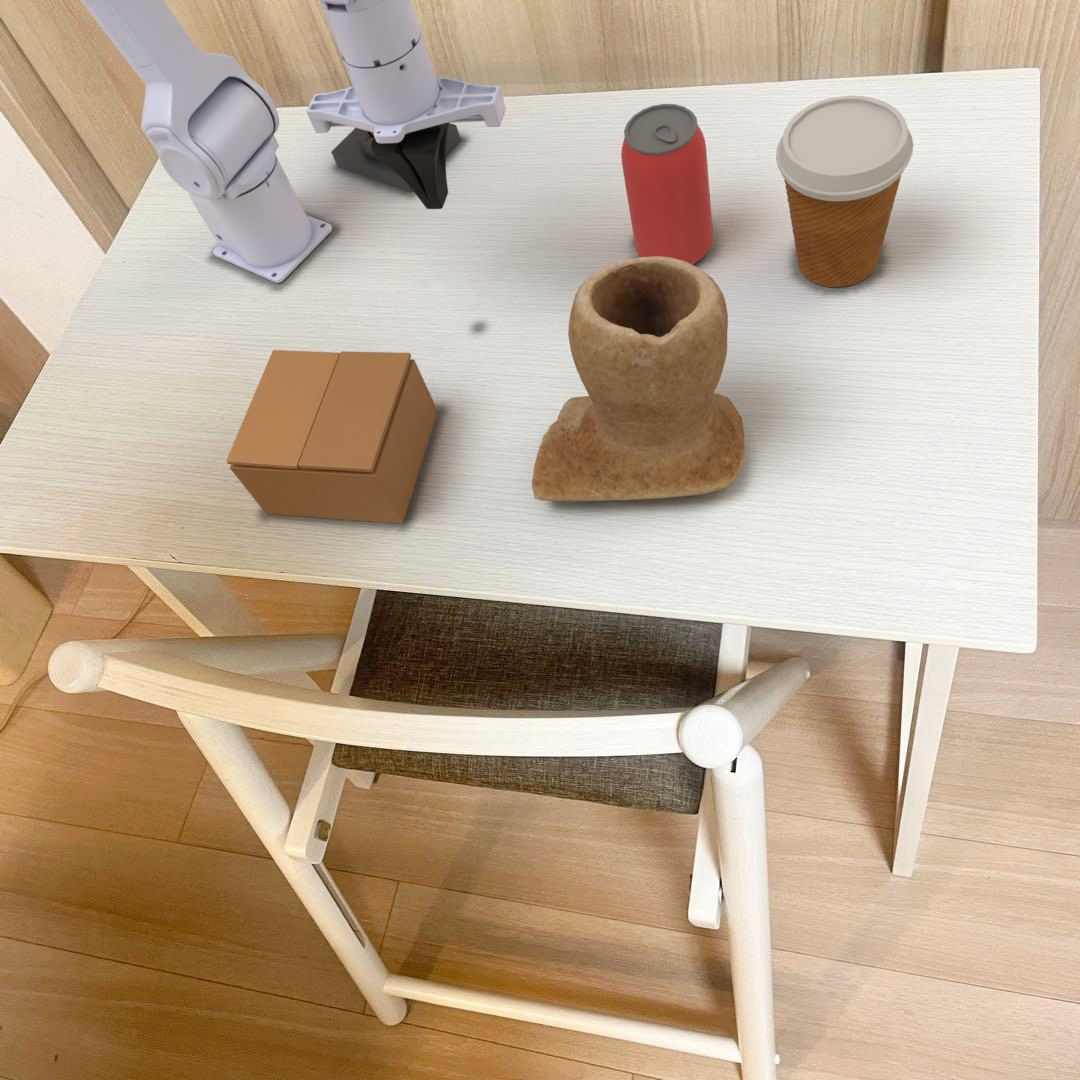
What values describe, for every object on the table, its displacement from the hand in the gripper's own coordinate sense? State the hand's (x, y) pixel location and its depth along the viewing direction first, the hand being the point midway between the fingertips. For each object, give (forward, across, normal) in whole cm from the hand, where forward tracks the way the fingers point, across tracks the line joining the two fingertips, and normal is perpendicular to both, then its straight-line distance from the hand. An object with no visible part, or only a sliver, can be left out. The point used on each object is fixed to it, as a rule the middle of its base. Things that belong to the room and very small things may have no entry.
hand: (437, 200), depth 81 cm
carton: (+10, -5, -18) cm, 22 cm away
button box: (+10, -12, +18) cm, 25 cm away
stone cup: (+10, +18, -15) cm, 26 cm away
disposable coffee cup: (+10, +31, +4) cm, 33 cm away
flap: (+4, -8, -18) cm, 20 cm away
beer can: (+10, +17, +6) cm, 21 cm away
